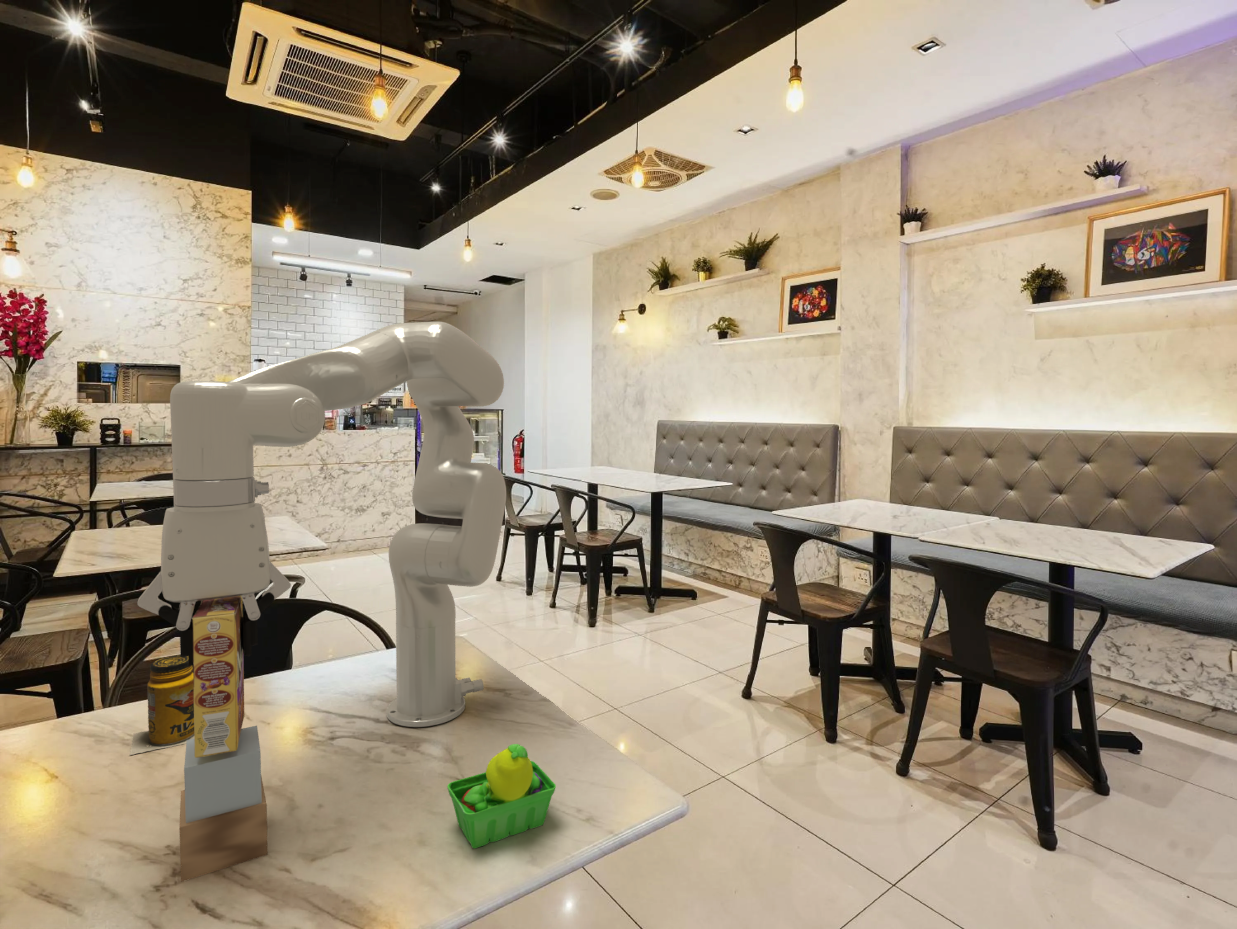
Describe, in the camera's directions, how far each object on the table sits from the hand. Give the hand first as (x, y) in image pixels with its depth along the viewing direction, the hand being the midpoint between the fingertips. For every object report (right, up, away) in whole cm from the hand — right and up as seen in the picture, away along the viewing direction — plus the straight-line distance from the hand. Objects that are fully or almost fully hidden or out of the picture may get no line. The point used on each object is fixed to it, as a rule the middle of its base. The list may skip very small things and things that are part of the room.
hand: (220, 655), depth 71 cm
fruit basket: (+31, -23, +5) cm, 39 cm away
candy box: (0, -10, +1) cm, 10 cm away
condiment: (-24, -21, +26) cm, 41 cm away
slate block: (0, -16, +1) cm, 16 cm away
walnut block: (0, -22, +1) cm, 22 cm away
